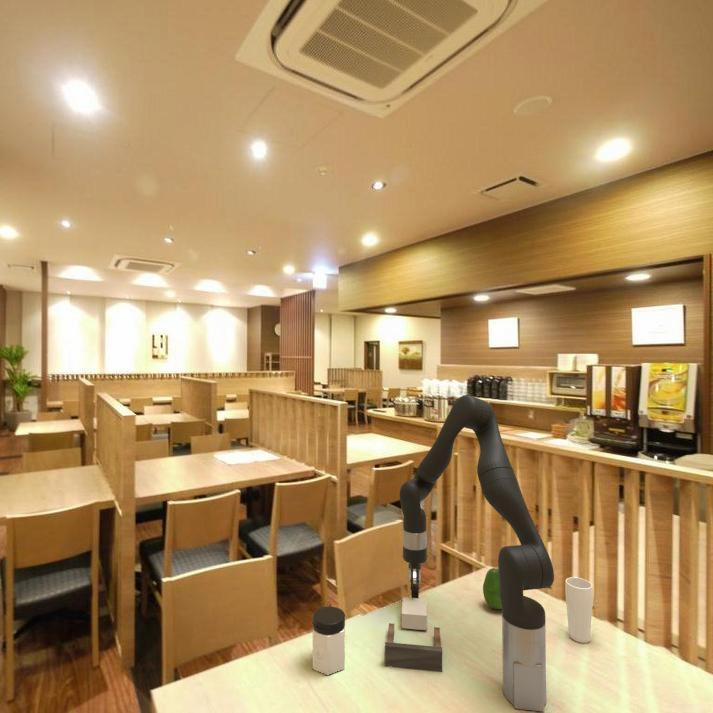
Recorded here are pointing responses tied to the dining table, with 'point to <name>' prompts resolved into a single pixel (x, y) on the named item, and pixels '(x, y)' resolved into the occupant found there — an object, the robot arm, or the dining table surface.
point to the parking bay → (413, 653)
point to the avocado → (492, 589)
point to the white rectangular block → (414, 613)
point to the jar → (328, 640)
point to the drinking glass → (579, 608)
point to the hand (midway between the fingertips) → (415, 600)
